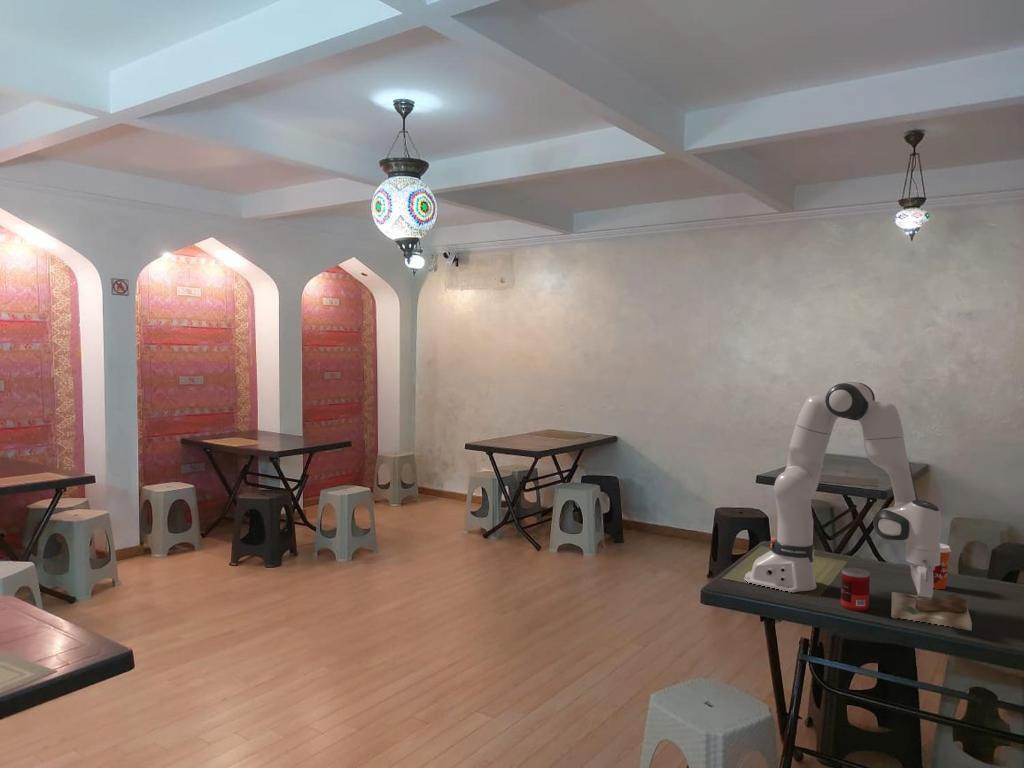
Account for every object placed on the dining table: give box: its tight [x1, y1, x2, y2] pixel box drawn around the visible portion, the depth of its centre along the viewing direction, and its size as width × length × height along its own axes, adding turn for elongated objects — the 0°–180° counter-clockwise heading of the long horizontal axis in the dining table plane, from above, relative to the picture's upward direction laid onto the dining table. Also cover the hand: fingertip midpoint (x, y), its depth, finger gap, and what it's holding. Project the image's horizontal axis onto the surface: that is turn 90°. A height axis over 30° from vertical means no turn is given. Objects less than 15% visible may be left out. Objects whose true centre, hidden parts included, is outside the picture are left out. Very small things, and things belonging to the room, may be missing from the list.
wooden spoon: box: [915, 594, 968, 612], centre depth 215 cm, size 14×5×4 cm, turn 94°
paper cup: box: [933, 542, 952, 590], centre depth 243 cm, size 8×8×14 cm
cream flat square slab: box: [890, 591, 973, 631], centre depth 219 cm, size 20×19×2 cm
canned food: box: [840, 567, 871, 612], centre depth 224 cm, size 8×8×11 cm
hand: (920, 602), depth 218 cm, fingers closed
